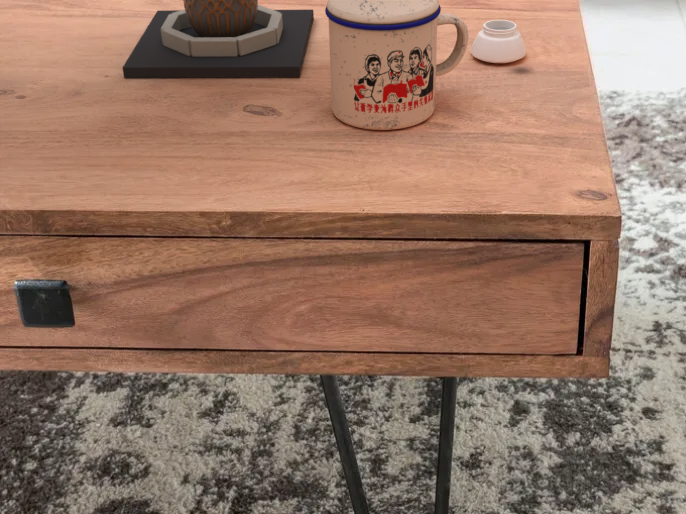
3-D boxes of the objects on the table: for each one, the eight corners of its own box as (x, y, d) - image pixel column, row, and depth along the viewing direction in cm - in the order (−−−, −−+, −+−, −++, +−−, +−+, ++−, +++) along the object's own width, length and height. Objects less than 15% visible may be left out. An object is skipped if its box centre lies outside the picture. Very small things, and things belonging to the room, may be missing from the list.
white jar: (522, 47, 99) (469, 47, 99) (525, 15, 98) (471, 16, 98) (527, 66, 95) (472, 66, 95) (530, 34, 93) (474, 34, 94)
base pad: (123, 78, 95) (119, 50, 94) (158, 20, 108) (155, -5, 106) (299, 77, 94) (298, 50, 93) (313, 19, 107) (312, -6, 106)
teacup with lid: (351, 140, 83) (347, -10, 76) (314, 99, 90) (307, -42, 83) (487, 116, 86) (496, -30, 79) (442, 78, 93) (446, -59, 86)
